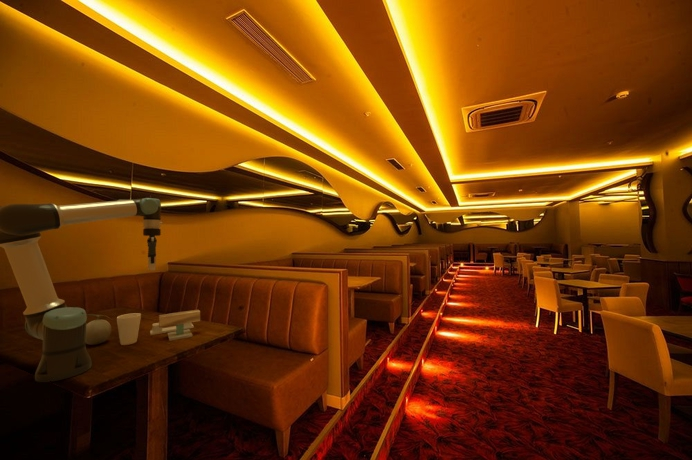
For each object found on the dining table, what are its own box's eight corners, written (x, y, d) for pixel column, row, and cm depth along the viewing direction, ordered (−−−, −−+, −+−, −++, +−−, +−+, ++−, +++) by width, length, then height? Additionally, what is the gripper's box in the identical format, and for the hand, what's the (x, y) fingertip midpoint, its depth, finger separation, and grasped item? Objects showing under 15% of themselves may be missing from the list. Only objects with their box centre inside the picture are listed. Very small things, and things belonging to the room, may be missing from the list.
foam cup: (112, 344, 135) (112, 316, 136) (134, 338, 144) (134, 312, 144) (122, 347, 131) (123, 319, 131) (144, 341, 139) (144, 314, 140)
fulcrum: (192, 336, 145) (192, 323, 145) (169, 341, 139) (169, 327, 139) (189, 331, 153) (189, 319, 153) (167, 335, 147) (167, 322, 147)
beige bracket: (193, 327, 160) (193, 319, 160) (150, 335, 148) (150, 326, 148) (191, 325, 164) (191, 317, 164) (150, 332, 152) (150, 323, 152)
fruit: (118, 340, 141) (118, 310, 141) (92, 349, 130) (92, 316, 130) (102, 338, 143) (103, 308, 144) (76, 346, 132) (76, 314, 133)
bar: (200, 320, 150) (200, 311, 150) (159, 327, 139) (159, 317, 139) (198, 318, 154) (198, 309, 154) (158, 325, 143) (158, 315, 143)
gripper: (162, 227, 140) (162, 270, 139) (159, 229, 160) (158, 266, 159) (143, 227, 135) (143, 271, 135) (142, 228, 155) (142, 267, 155)
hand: (151, 269), depth 147 cm, fingers open, 13 cm apart
